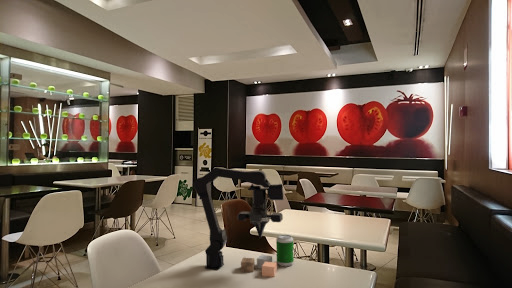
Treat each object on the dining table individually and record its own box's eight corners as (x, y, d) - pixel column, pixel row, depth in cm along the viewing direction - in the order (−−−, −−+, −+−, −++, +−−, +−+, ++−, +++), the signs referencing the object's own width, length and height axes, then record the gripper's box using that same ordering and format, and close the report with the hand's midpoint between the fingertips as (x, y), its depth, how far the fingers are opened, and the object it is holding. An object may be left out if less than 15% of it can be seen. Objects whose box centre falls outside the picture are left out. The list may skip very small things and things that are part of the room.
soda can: (293, 267, 130) (292, 239, 130) (275, 266, 131) (275, 238, 131) (294, 261, 137) (294, 234, 137) (277, 260, 139) (277, 233, 139)
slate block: (257, 267, 131) (256, 258, 131) (261, 263, 135) (261, 254, 135) (267, 269, 128) (267, 260, 129) (272, 265, 133) (272, 256, 133)
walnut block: (241, 271, 127) (240, 262, 127) (243, 267, 132) (242, 257, 132) (253, 272, 126) (252, 262, 126) (254, 267, 131) (254, 258, 131)
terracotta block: (262, 275, 122) (261, 265, 122) (265, 271, 127) (265, 261, 127) (274, 277, 121) (274, 267, 121) (276, 272, 126) (276, 262, 126)
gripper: (232, 203, 125) (233, 241, 125) (277, 204, 120) (278, 244, 120) (241, 198, 136) (242, 233, 135) (282, 199, 131) (283, 236, 130)
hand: (260, 236), depth 130 cm, fingers closed
